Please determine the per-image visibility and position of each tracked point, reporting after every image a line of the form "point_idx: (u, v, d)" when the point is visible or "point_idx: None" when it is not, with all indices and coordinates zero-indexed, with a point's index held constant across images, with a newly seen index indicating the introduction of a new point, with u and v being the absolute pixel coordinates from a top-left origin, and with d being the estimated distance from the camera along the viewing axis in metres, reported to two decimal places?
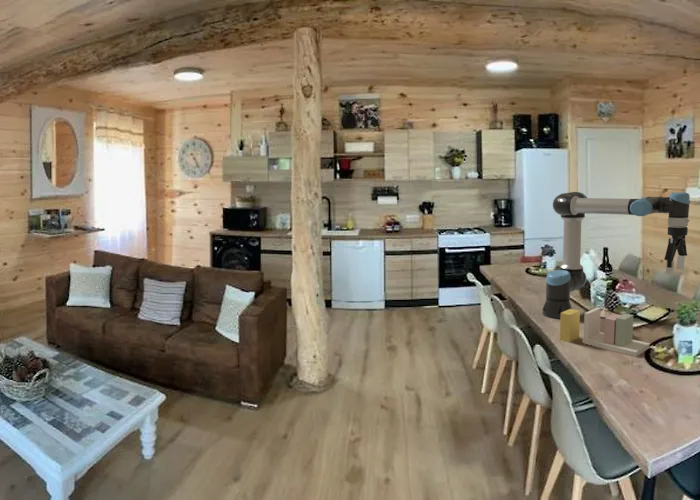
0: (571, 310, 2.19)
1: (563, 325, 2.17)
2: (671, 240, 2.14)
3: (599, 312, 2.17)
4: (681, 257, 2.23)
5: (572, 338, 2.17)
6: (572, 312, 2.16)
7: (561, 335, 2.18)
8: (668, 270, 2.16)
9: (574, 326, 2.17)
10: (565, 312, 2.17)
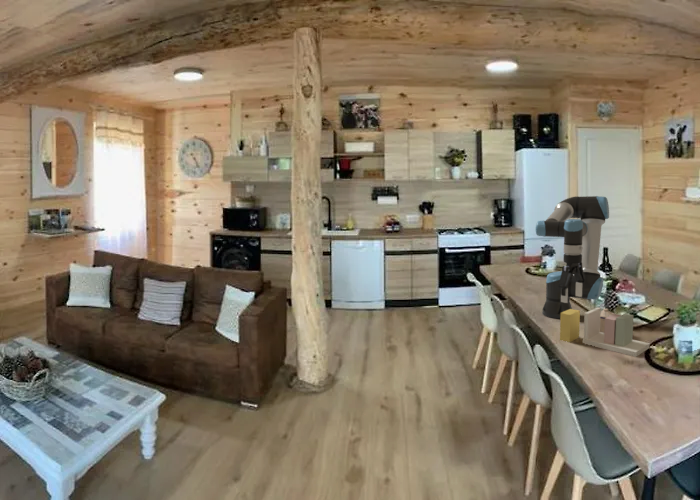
0: (571, 310, 2.19)
1: (563, 325, 2.17)
2: (564, 268, 2.10)
3: (599, 312, 2.17)
4: (579, 284, 2.19)
5: (572, 338, 2.17)
6: (572, 312, 2.16)
7: (561, 335, 2.18)
8: (562, 298, 2.12)
9: (574, 326, 2.17)
10: (565, 312, 2.17)
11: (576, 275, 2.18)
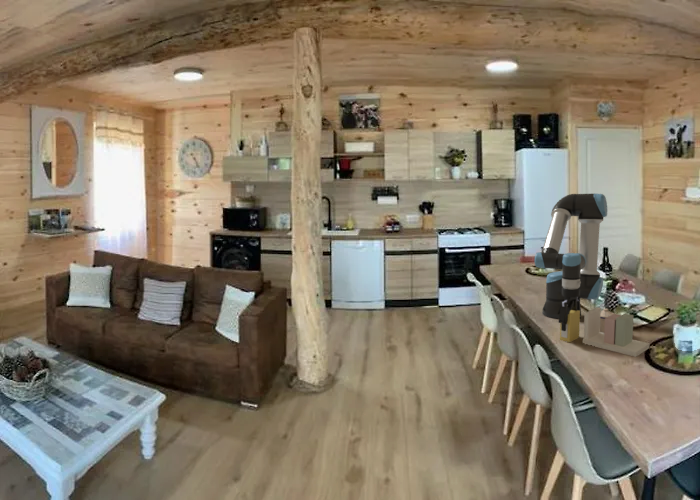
0: (571, 310, 2.19)
1: None
2: (563, 304, 2.13)
3: (599, 312, 2.17)
4: None
5: (572, 338, 2.17)
6: (572, 312, 2.16)
7: None
8: (563, 333, 2.16)
9: (574, 326, 2.17)
10: None
11: (573, 309, 2.20)
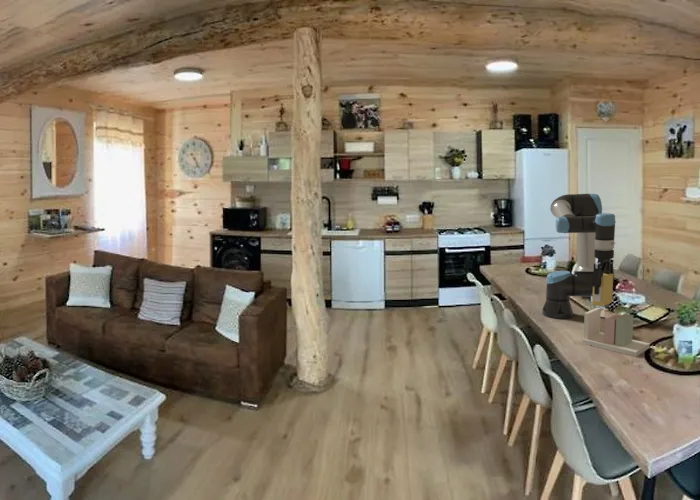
0: (604, 273, 2.10)
1: None
2: (596, 266, 2.04)
3: (599, 312, 2.17)
4: None
5: (605, 302, 2.08)
6: (605, 275, 2.07)
7: None
8: (596, 297, 2.07)
9: (607, 289, 2.08)
10: None
11: (606, 273, 2.10)
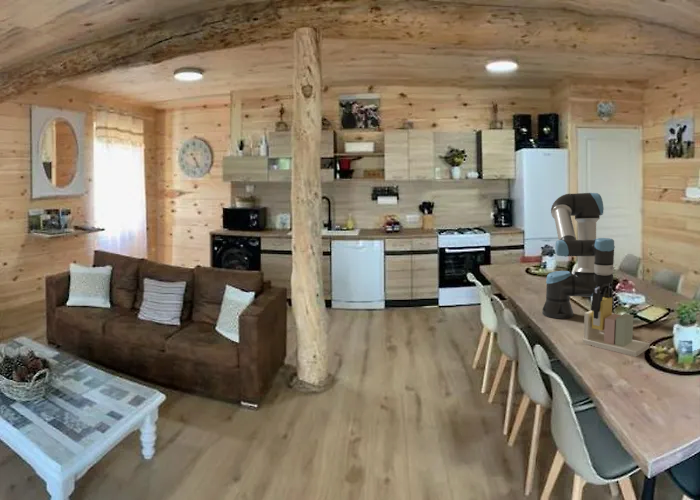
0: (603, 297, 2.12)
1: None
2: (595, 290, 2.05)
3: None
4: None
5: None
6: (605, 299, 2.09)
7: None
8: (595, 321, 2.09)
9: (607, 313, 2.09)
10: None
11: None
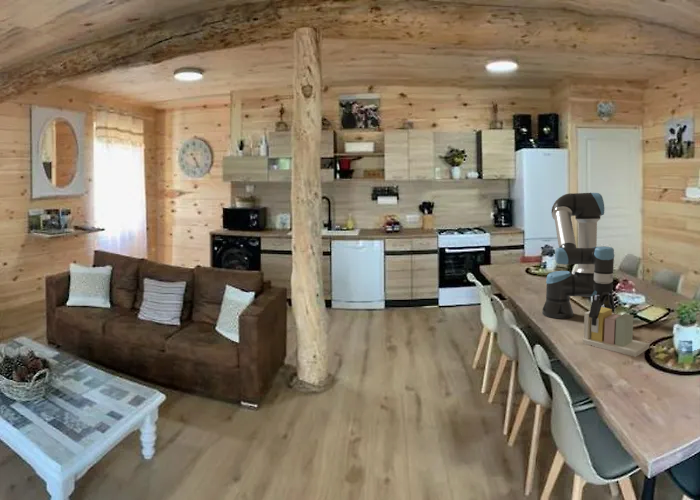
0: (603, 308, 2.13)
1: None
2: (595, 297, 2.06)
3: None
4: None
5: None
6: (604, 310, 2.10)
7: (593, 334, 2.11)
8: (593, 328, 2.08)
9: None
10: None
11: (606, 303, 2.13)
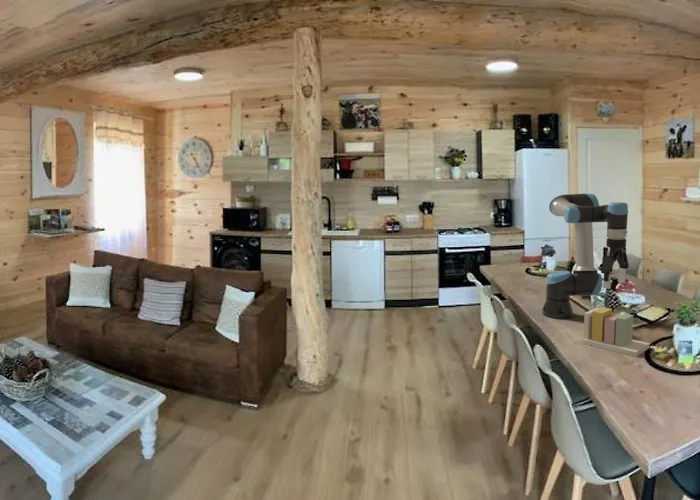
0: (603, 308, 2.13)
1: (594, 324, 2.10)
2: (608, 253, 2.03)
3: None
4: (622, 270, 2.12)
5: None
6: (604, 310, 2.10)
7: (593, 334, 2.11)
8: (605, 284, 2.06)
9: None
10: (597, 310, 2.10)
11: (619, 260, 2.11)
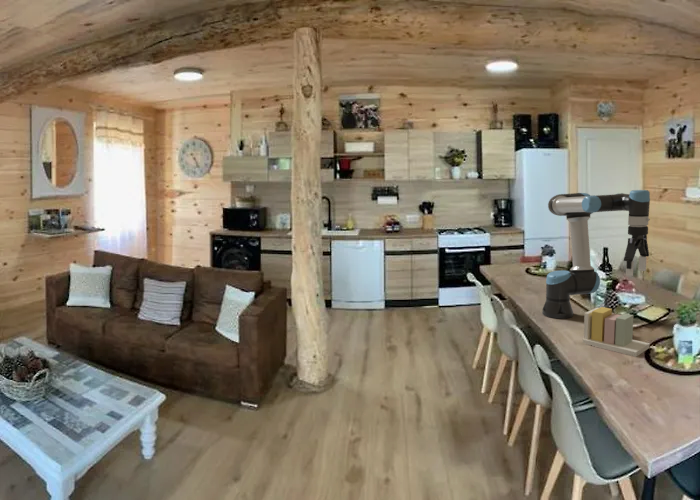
0: (603, 308, 2.13)
1: (594, 324, 2.10)
2: (630, 240, 2.03)
3: None
4: (643, 258, 2.13)
5: None
6: (604, 310, 2.10)
7: (593, 334, 2.11)
8: (628, 271, 2.06)
9: None
10: (597, 310, 2.10)
11: (640, 248, 2.11)
